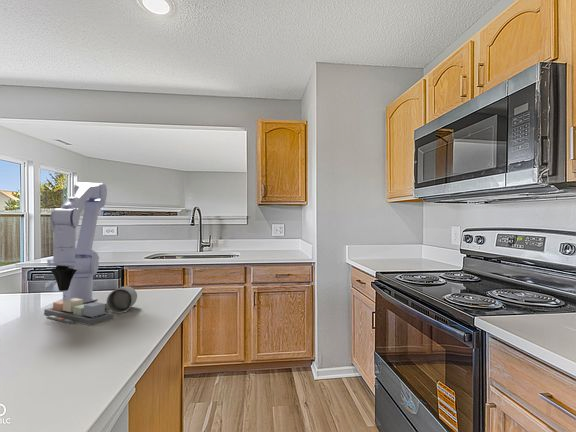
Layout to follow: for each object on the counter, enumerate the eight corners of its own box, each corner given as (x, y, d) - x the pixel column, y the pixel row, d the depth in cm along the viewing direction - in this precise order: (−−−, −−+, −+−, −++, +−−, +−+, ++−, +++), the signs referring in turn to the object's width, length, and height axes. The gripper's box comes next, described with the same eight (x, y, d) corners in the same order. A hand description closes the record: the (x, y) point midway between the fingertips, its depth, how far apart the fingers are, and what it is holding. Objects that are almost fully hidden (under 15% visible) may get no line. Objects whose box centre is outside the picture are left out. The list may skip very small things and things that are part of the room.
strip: (46, 318, 100) (46, 315, 100) (50, 317, 101) (50, 314, 101) (71, 324, 95) (71, 321, 95) (74, 323, 95) (75, 320, 95)
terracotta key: (52, 312, 105) (53, 302, 105) (65, 309, 108) (65, 299, 108) (60, 313, 103) (60, 304, 103) (72, 311, 106) (73, 301, 106)
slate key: (83, 315, 98) (83, 304, 98) (96, 312, 101) (96, 302, 101) (92, 317, 96) (92, 306, 96) (104, 313, 100) (104, 303, 100)
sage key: (72, 316, 100) (73, 306, 100) (85, 313, 104) (85, 303, 104) (80, 318, 99) (81, 308, 99) (93, 315, 102) (93, 305, 102)
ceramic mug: (138, 306, 115) (138, 283, 115) (132, 312, 107) (132, 288, 107) (104, 307, 113) (104, 284, 113) (95, 314, 105) (95, 289, 105)
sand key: (62, 310, 102) (63, 300, 102) (75, 307, 106) (75, 298, 106) (70, 312, 101) (70, 302, 101) (83, 309, 104) (83, 299, 104)
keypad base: (44, 314, 104) (44, 309, 104) (67, 308, 110) (67, 304, 110) (90, 325, 94) (90, 320, 94) (112, 318, 100) (113, 313, 100)
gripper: (37, 246, 105) (36, 290, 105) (65, 249, 99) (64, 295, 99) (60, 245, 112) (60, 286, 112) (88, 247, 105) (88, 291, 105)
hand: (63, 290), depth 106 cm, fingers closed
